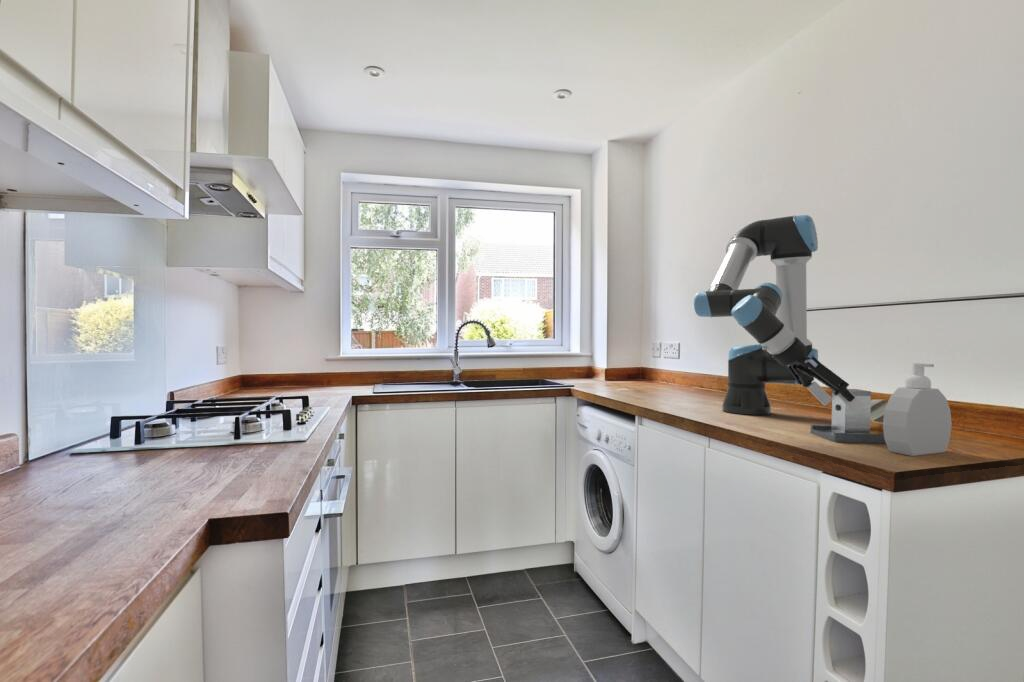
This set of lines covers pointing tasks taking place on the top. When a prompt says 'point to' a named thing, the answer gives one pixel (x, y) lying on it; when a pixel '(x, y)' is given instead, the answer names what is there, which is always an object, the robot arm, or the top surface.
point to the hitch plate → (851, 434)
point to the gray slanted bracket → (877, 410)
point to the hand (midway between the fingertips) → (843, 405)
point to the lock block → (851, 414)
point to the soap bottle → (917, 417)
